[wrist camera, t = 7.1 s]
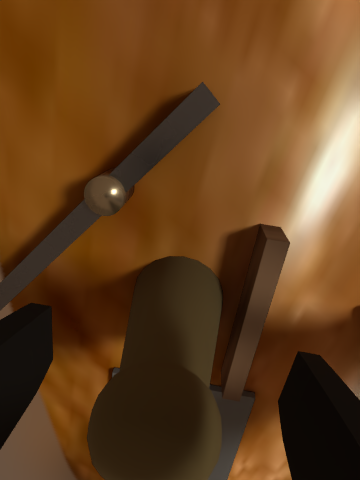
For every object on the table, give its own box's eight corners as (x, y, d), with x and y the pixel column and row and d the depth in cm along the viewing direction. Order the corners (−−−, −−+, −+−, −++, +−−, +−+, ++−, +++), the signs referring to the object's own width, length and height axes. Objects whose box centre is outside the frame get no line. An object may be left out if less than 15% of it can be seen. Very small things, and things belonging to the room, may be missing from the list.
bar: (14, 304, 22) (-9, 327, 19) (-9, 285, 21) (-35, 307, 19) (223, 111, 15) (226, 111, 13) (198, 78, 15) (196, 72, 13)
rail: (236, 374, 23) (239, 401, 20) (221, 371, 23) (222, 398, 21) (280, 227, 18) (289, 242, 16) (260, 223, 18) (267, 239, 16)
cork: (175, 237, 19) (135, 386, 9) (242, 297, 20) (275, 487, 10) (116, 294, 21) (29, 467, 11) (180, 345, 22) (155, 543, 12)
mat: (221, 489, 28) (221, 495, 28) (107, 467, 29) (105, 473, 28) (254, 392, 23) (255, 398, 23) (114, 367, 23) (112, 372, 23)
